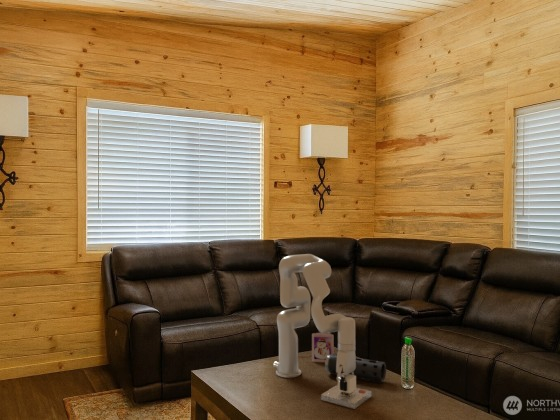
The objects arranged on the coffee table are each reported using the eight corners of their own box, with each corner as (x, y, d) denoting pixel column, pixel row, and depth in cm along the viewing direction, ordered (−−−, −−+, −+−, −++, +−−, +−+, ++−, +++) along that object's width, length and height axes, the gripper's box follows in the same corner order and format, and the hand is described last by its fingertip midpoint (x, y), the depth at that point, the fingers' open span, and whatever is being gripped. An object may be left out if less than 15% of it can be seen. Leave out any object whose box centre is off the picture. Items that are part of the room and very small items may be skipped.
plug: (333, 394, 217) (333, 375, 217) (339, 390, 222) (339, 372, 222) (350, 398, 213) (350, 379, 212) (356, 394, 217) (356, 375, 217)
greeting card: (311, 362, 265) (311, 334, 264) (313, 357, 272) (313, 330, 272) (333, 363, 263) (333, 335, 263) (334, 358, 270) (334, 331, 270)
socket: (321, 400, 215) (321, 393, 215) (339, 388, 228) (339, 382, 228) (354, 409, 206) (354, 402, 206) (371, 396, 219) (371, 389, 219)
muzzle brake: (380, 387, 230) (380, 365, 230) (324, 376, 244) (324, 355, 243) (386, 380, 239) (386, 359, 238) (331, 370, 252) (331, 350, 252)
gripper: (348, 340, 225) (348, 380, 226) (329, 350, 211) (329, 392, 212) (363, 343, 221) (363, 383, 221) (345, 353, 207) (345, 396, 207)
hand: (346, 387), depth 217 cm, fingers closed on plug, 5 cm apart
